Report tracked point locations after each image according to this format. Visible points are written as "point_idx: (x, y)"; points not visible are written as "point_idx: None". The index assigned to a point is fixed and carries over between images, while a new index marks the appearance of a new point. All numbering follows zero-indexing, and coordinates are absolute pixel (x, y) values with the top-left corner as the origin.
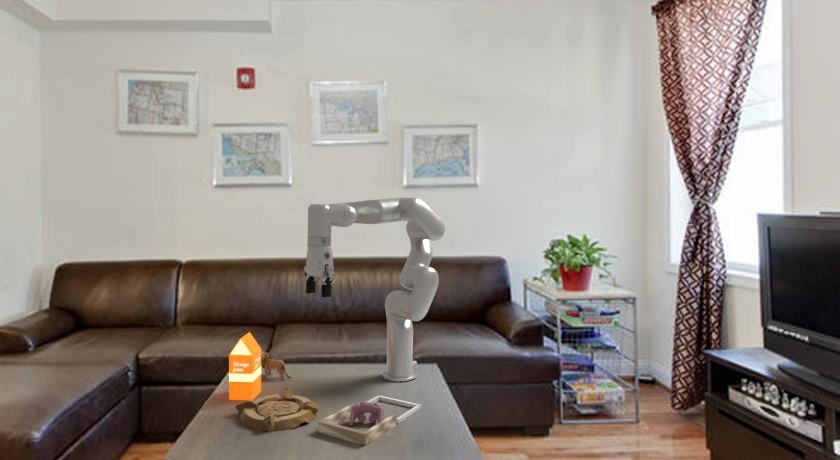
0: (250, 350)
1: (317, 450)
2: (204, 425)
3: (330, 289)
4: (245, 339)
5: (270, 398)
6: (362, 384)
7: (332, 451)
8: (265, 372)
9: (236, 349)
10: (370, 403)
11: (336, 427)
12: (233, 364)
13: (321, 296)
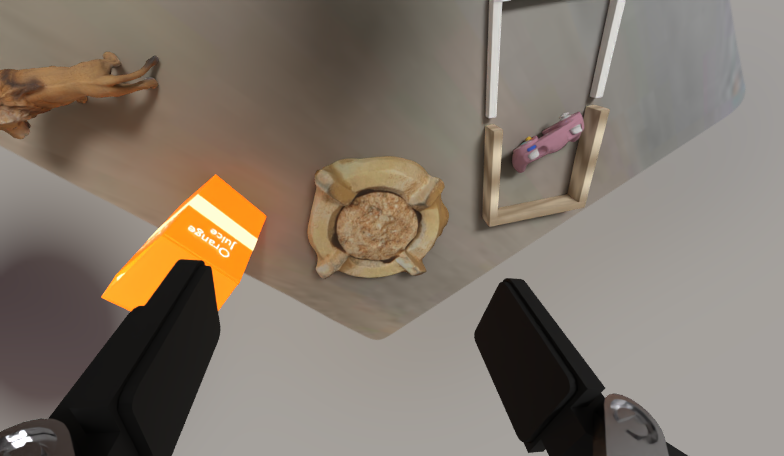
0: (219, 291)
1: (516, 247)
2: (325, 305)
3: (558, 335)
4: None
5: (329, 222)
6: None
7: (536, 237)
8: (73, 100)
9: None
10: (565, 142)
11: (527, 218)
12: None
13: (479, 341)
